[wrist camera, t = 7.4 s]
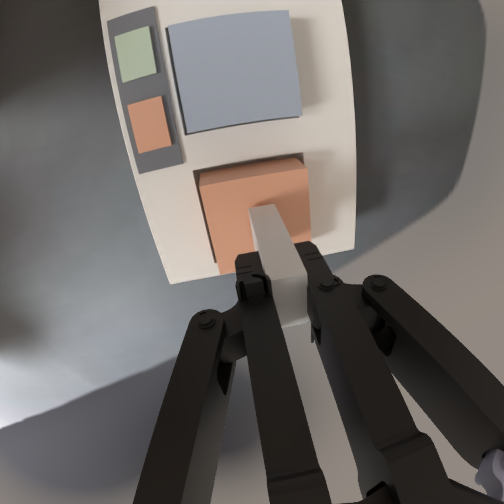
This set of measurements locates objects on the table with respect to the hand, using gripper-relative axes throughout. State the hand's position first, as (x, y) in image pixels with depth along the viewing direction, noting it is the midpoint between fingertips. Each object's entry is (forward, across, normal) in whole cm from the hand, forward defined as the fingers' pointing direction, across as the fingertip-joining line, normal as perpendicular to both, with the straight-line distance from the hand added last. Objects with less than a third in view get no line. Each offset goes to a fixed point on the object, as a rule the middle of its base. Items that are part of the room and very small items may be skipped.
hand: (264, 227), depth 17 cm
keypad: (+7, 0, +9) cm, 11 cm away
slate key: (+3, 0, +9) cm, 9 cm away
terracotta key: (+3, 0, 0) cm, 3 cm away
